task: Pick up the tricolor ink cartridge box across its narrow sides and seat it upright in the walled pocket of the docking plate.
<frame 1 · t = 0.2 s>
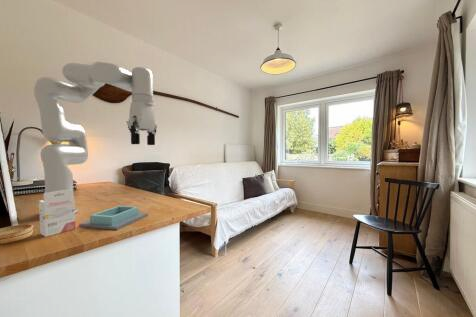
hand: (143, 144, 81), 31 cm above the table, tool pointing down, fingers open, 9 cm apart
ink cartridge box: (58, 232, 72), on the table
dock: (116, 220, 84), on the table
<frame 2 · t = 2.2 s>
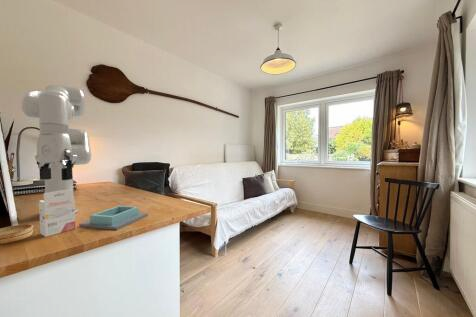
hand: (56, 179, 71), 18 cm above the table, tool pointing down, fingers open, 9 cm apart
nothing on the table moved.
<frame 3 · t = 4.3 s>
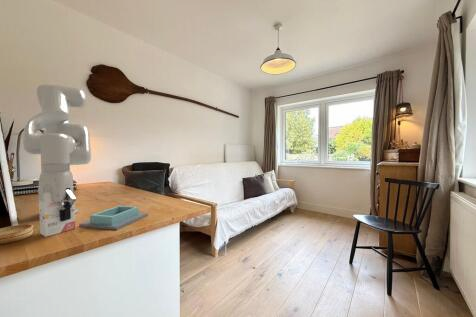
hand: (57, 219, 72), 4 cm above the table, tool pointing down, fingers closed on ink cartridge box, 6 cm apart
ink cartridge box: (58, 232, 72), on the table, touching gripper
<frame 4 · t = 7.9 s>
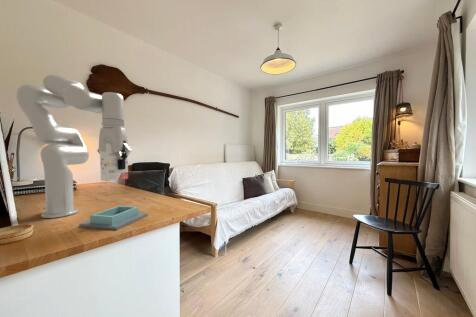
hand: (114, 168, 83), 21 cm above the table, tool pointing down, fingers closed on ink cartridge box, 6 cm apart
ink cartridge box: (114, 180, 83), point 17 cm above the table, touching gripper
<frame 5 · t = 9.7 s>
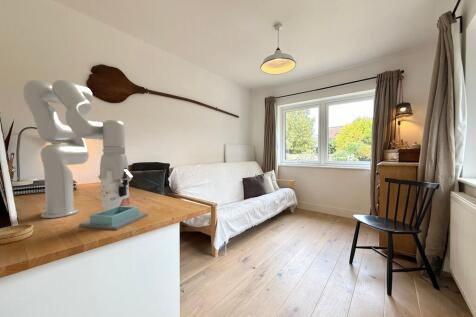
hand: (115, 195, 83), 10 cm above the table, tool pointing down, fingers closed on ink cartridge box, 6 cm apart
ink cartridge box: (116, 206, 83), point 6 cm above the table, touching gripper
when the fingers open (7 cm above the table, at t = 11.4 s): ink cartridge box drops 1 cm, resting on dock.
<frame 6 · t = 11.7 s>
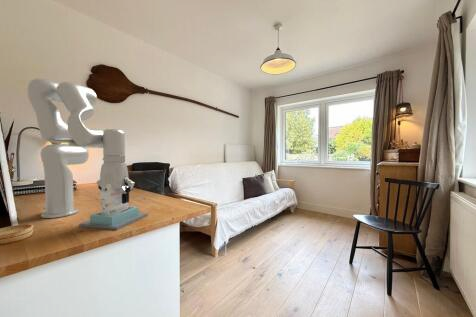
hand: (115, 202, 83), 8 cm above the table, tool pointing down, fingers open, 9 cm apart
ink cartridge box: (115, 218, 84), point 1 cm above the table, touching dock
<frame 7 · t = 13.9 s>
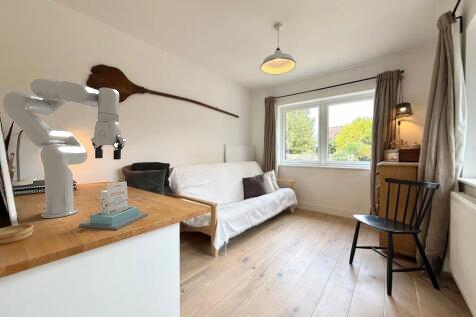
hand: (107, 158, 87), 25 cm above the table, tool pointing down, fingers open, 9 cm apart
nothing on the table moved.
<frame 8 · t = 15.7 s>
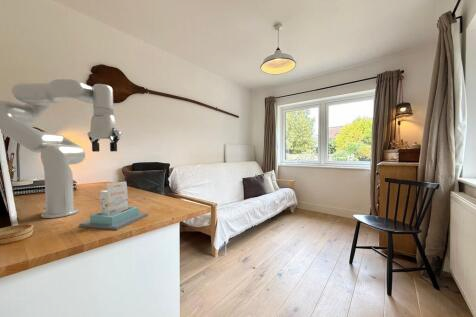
hand: (104, 151, 92), 28 cm above the table, tool pointing down, fingers open, 9 cm apart
nothing on the table moved.
at the end: ink cartridge box 0.5 cm off-centre on the dock, point 0.8 cm above the dock's base; ink cartridge box tilted 0°; the gripper is holding nothing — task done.
